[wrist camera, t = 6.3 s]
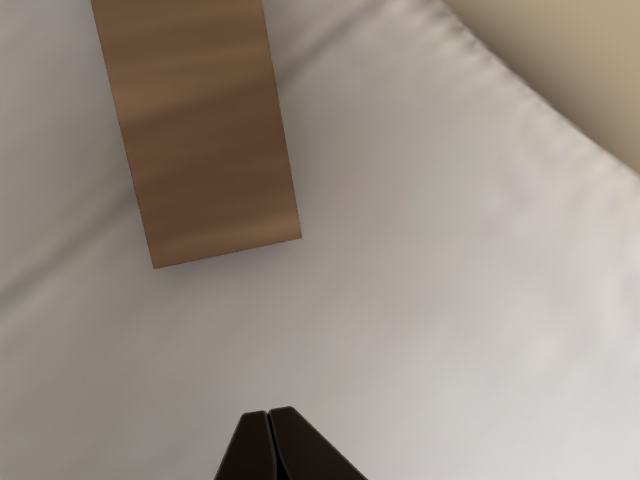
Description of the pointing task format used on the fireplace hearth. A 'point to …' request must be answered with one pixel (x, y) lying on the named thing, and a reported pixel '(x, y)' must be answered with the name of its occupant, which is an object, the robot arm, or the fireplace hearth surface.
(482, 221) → the fireplace hearth surface
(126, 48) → the domino
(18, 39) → the fireplace hearth surface
